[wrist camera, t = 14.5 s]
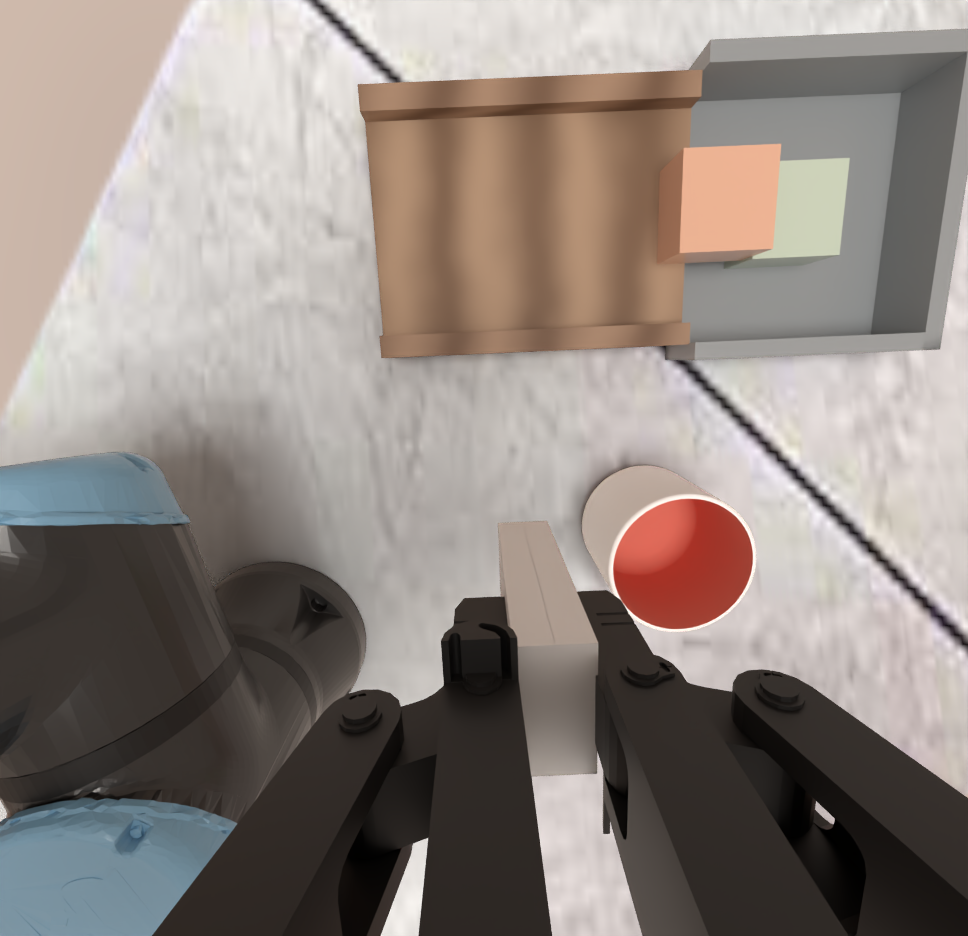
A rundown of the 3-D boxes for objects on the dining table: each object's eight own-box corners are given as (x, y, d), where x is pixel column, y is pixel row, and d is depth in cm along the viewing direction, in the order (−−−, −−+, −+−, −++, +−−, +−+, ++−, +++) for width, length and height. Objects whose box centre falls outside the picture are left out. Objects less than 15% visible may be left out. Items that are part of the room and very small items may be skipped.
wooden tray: (392, 357, 39) (381, 357, 35) (372, 117, 36) (357, 84, 31) (665, 345, 39) (689, 344, 35) (675, 104, 36) (702, 69, 31)
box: (665, 359, 40) (694, 360, 34) (675, 87, 35) (710, 39, 30) (877, 350, 40) (939, 349, 34) (913, 77, 36) (990, 27, 30)
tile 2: (656, 264, 35) (679, 252, 31) (659, 171, 34) (683, 148, 30) (740, 260, 35) (772, 248, 31) (746, 168, 34) (781, 143, 30)
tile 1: (723, 269, 38) (752, 258, 34) (729, 182, 36) (759, 161, 32) (801, 265, 38) (839, 254, 34) (809, 179, 36) (849, 157, 32)
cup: (591, 453, 41) (627, 483, 32) (706, 471, 42) (775, 506, 32) (568, 563, 44) (594, 622, 34) (677, 579, 44) (734, 642, 34)
